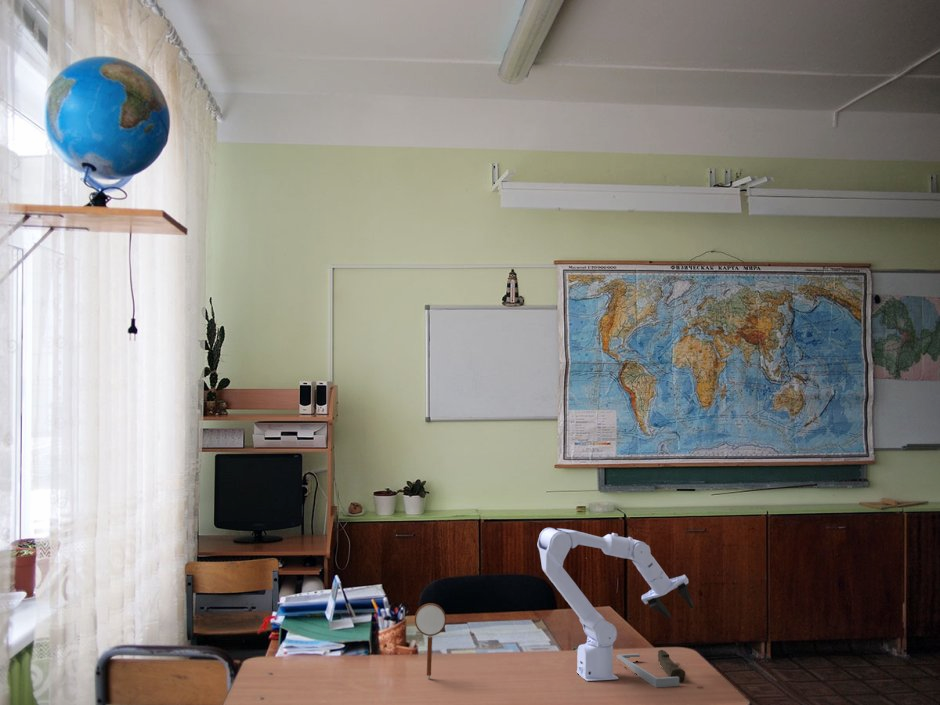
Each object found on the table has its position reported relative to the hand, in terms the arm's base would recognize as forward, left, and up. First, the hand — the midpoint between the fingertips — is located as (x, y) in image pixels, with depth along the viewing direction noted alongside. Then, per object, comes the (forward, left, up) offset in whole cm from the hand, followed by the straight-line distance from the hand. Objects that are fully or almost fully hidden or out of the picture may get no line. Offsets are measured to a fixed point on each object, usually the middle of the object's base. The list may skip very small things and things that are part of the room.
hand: (680, 611), depth 238 cm
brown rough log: (-4, 0, -17) cm, 18 cm away
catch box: (-10, 0, -17) cm, 20 cm away
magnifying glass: (-73, +7, -17) cm, 75 cm away
